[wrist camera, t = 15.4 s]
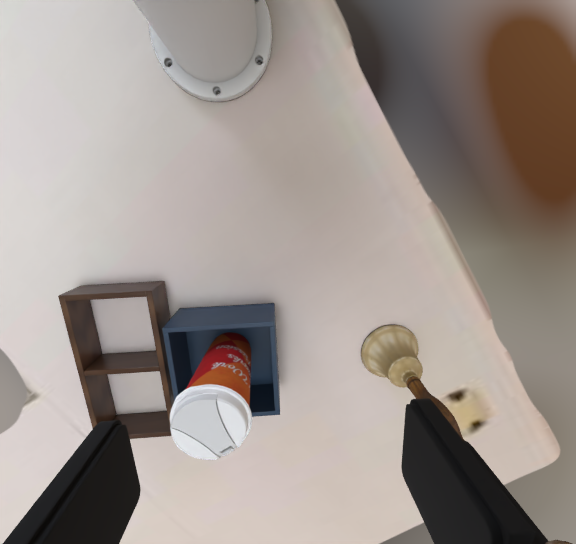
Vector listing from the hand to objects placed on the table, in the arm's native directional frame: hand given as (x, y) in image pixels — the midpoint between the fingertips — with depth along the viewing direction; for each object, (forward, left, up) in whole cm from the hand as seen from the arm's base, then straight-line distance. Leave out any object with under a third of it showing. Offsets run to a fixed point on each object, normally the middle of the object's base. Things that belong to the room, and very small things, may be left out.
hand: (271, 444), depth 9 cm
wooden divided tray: (+12, -19, -28) cm, 36 cm away
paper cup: (+12, -6, -28) cm, 31 cm away
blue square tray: (+12, -6, -28) cm, 31 cm away
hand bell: (+14, +16, -28) cm, 36 cm away
